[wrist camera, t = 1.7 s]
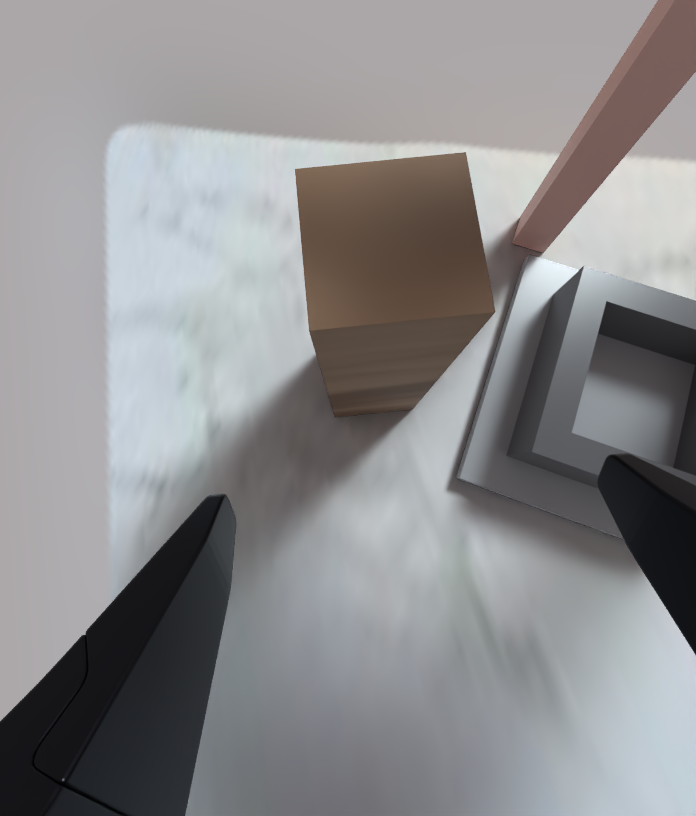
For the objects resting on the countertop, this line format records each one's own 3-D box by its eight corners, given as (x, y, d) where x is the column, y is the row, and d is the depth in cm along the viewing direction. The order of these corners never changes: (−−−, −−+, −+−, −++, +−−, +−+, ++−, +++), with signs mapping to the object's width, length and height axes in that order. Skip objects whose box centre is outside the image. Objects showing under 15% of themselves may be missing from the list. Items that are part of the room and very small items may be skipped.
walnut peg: (412, 409, 22) (495, 312, 9) (334, 417, 22) (309, 330, 9) (402, 335, 23) (466, 152, 10) (327, 343, 23) (295, 168, 10)
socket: (710, 571, 20) (792, 592, 16) (455, 478, 21) (477, 477, 17) (754, 334, 22) (834, 306, 19) (523, 261, 24) (555, 220, 20)
